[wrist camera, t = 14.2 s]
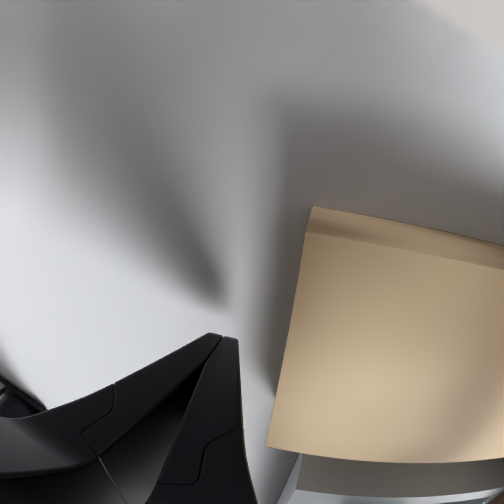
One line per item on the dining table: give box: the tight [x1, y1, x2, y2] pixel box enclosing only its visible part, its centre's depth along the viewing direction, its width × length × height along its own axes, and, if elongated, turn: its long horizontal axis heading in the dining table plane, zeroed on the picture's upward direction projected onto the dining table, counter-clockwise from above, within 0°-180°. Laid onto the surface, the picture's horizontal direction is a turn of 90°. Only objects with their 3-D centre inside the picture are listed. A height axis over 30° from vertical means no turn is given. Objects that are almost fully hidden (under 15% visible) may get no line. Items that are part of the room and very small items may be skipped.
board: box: [265, 206, 504, 463], centre depth 7 cm, size 10×7×2 cm
